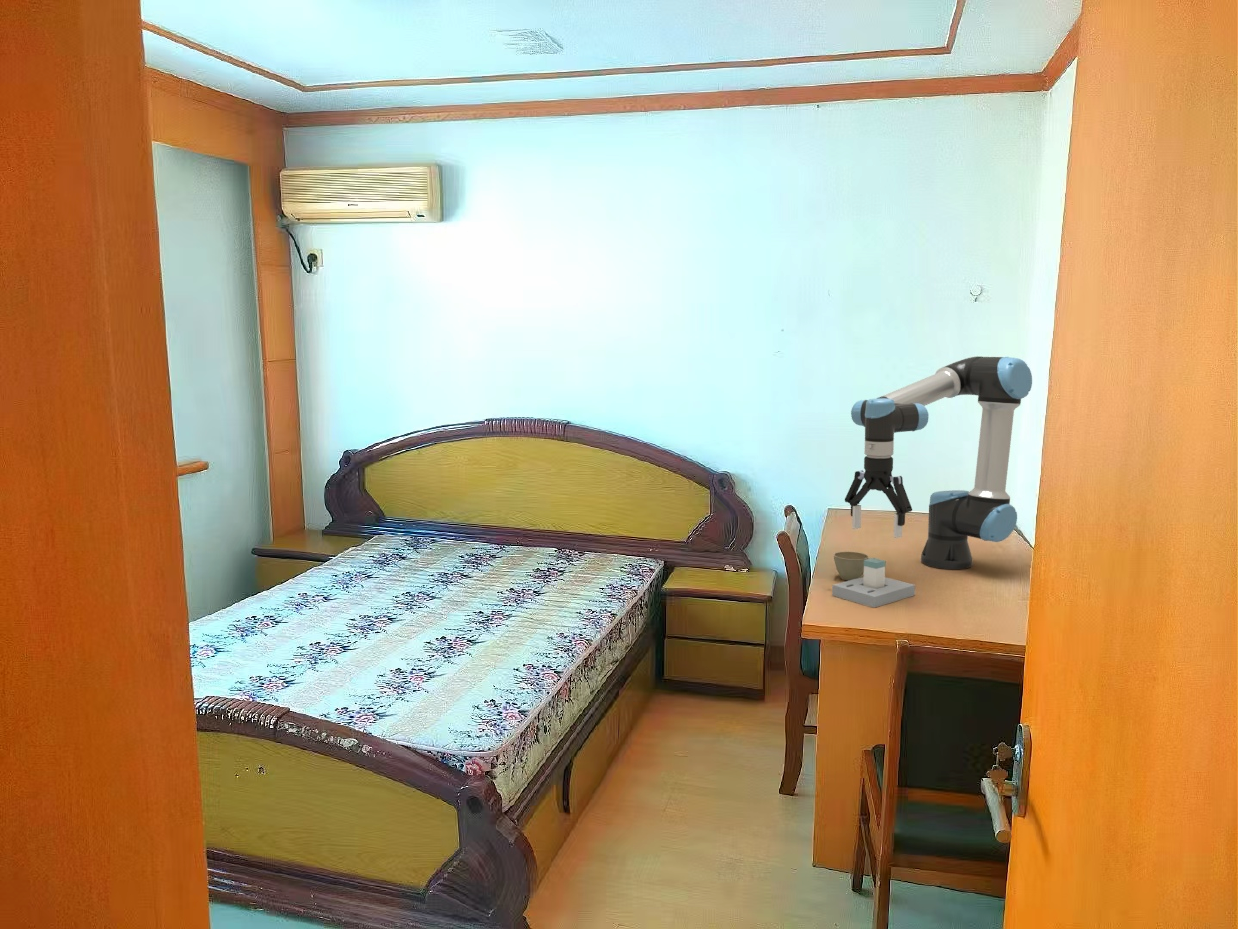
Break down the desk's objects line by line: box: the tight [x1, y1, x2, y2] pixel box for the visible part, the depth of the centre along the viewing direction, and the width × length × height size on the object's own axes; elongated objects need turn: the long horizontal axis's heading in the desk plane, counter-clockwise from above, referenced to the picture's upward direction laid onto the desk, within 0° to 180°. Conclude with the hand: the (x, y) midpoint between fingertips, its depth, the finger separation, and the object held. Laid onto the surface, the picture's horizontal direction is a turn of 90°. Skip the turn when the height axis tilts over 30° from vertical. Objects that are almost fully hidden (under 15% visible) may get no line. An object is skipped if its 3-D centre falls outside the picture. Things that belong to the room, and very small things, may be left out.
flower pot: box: [833, 550, 870, 581], centre depth 262 cm, size 10×10×7 cm
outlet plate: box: [831, 576, 916, 609], centre depth 246 cm, size 18×14×3 cm
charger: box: [863, 557, 886, 589], centre depth 245 cm, size 4×4×10 cm
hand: (876, 532), depth 244 cm, fingers open, 13 cm apart
